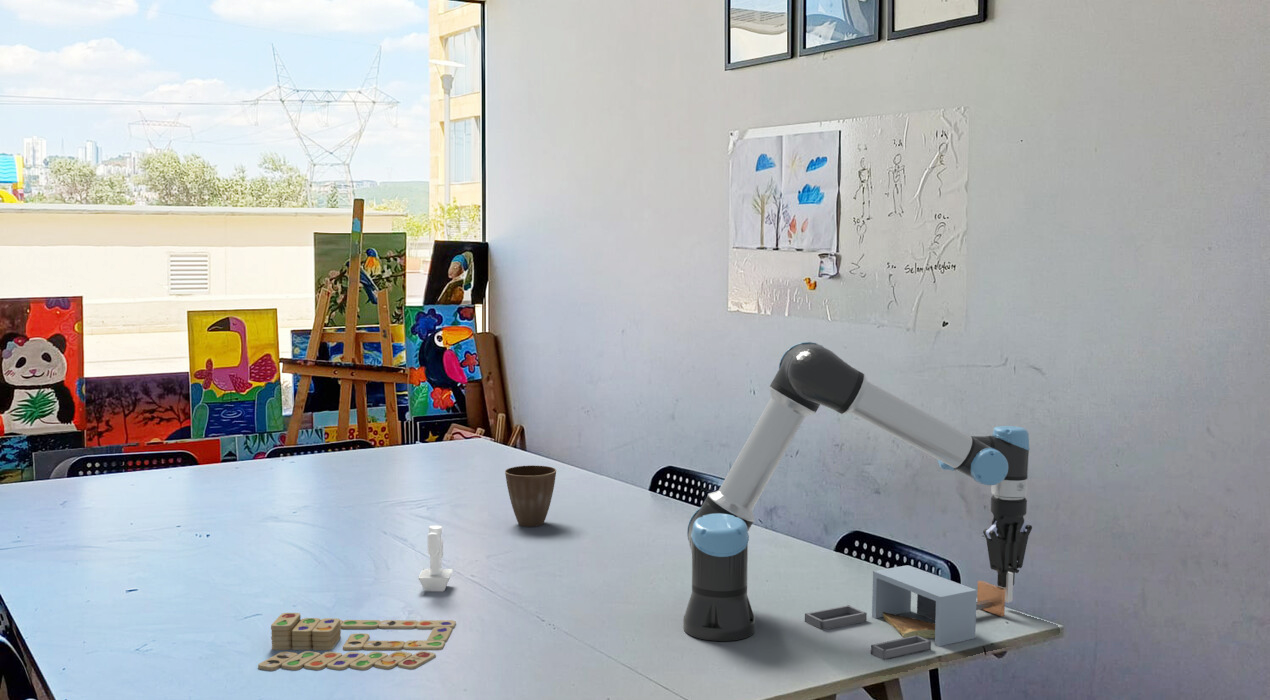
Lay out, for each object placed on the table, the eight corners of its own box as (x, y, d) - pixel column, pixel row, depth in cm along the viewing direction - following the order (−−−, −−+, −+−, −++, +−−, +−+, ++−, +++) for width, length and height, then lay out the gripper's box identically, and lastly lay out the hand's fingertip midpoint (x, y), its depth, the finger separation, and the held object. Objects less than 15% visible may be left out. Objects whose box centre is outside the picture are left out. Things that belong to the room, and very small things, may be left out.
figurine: (454, 582, 262) (453, 521, 260) (448, 594, 252) (447, 531, 251) (424, 582, 262) (423, 521, 260) (417, 594, 252) (416, 531, 251)
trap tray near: (884, 660, 212) (884, 651, 212) (870, 653, 216) (871, 644, 215) (930, 650, 218) (930, 641, 218) (916, 643, 221) (916, 635, 221)
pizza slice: (882, 620, 237) (882, 610, 237) (923, 618, 238) (923, 609, 238) (902, 641, 224) (902, 630, 224) (945, 639, 225) (945, 629, 225)
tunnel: (939, 646, 220) (940, 597, 219) (872, 616, 238) (873, 571, 237) (975, 638, 225) (976, 589, 224) (906, 609, 242) (907, 565, 242)
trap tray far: (822, 630, 229) (822, 621, 229) (804, 621, 234) (804, 613, 234) (866, 621, 235) (866, 613, 235) (848, 613, 240) (848, 605, 240)
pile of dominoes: (251, 673, 206) (250, 645, 205) (294, 625, 233) (293, 600, 232) (435, 673, 206) (435, 644, 206) (456, 625, 233) (456, 599, 233)
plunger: (963, 632, 227) (964, 604, 227) (916, 613, 240) (917, 586, 239) (1016, 621, 235) (1017, 593, 234) (968, 602, 247) (969, 576, 246)
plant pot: (554, 530, 311) (553, 475, 310) (502, 530, 312) (501, 475, 310) (558, 518, 326) (558, 465, 325) (508, 517, 326) (508, 465, 325)
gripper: (1000, 502, 234) (997, 609, 236) (1043, 496, 240) (1039, 600, 242) (974, 495, 241) (971, 599, 243) (1016, 490, 247) (1012, 591, 249)
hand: (1005, 600), depth 243 cm, fingers closed
